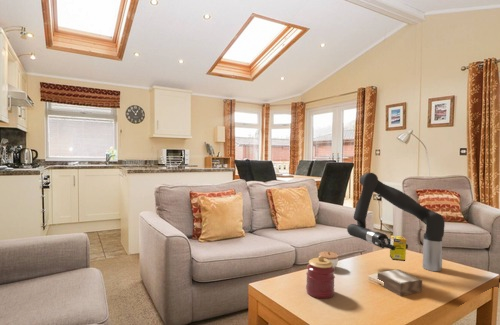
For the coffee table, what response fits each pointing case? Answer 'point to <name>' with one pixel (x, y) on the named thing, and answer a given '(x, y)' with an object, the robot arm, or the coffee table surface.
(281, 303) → the coffee table surface
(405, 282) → the silver-topped wooden block
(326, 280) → the canister
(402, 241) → the supplement box
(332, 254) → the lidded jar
